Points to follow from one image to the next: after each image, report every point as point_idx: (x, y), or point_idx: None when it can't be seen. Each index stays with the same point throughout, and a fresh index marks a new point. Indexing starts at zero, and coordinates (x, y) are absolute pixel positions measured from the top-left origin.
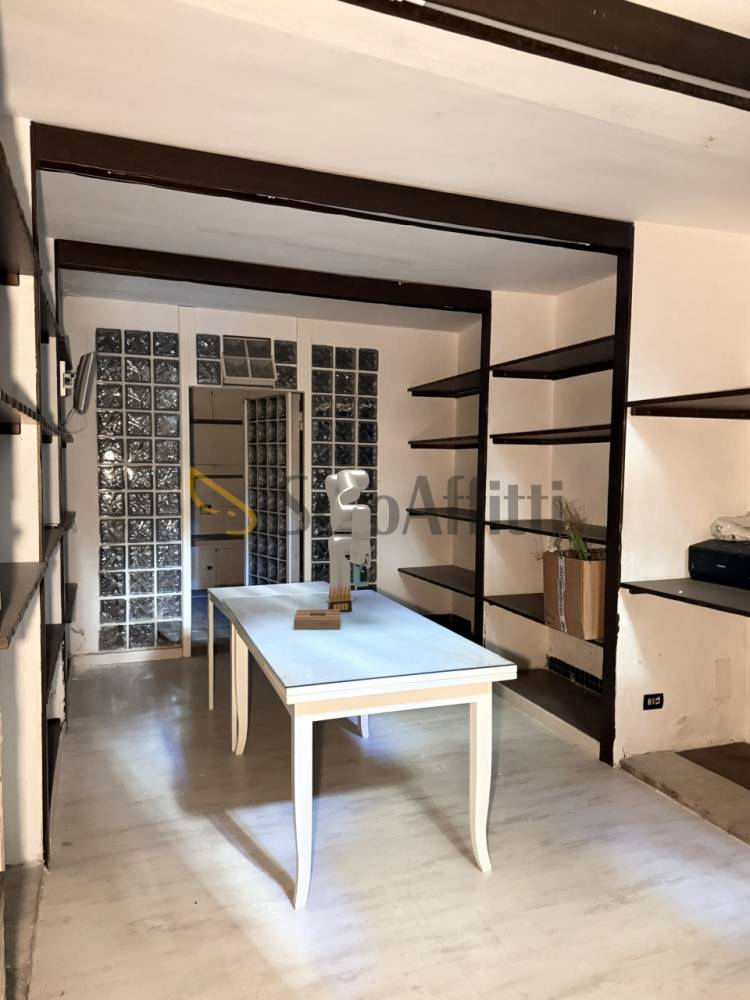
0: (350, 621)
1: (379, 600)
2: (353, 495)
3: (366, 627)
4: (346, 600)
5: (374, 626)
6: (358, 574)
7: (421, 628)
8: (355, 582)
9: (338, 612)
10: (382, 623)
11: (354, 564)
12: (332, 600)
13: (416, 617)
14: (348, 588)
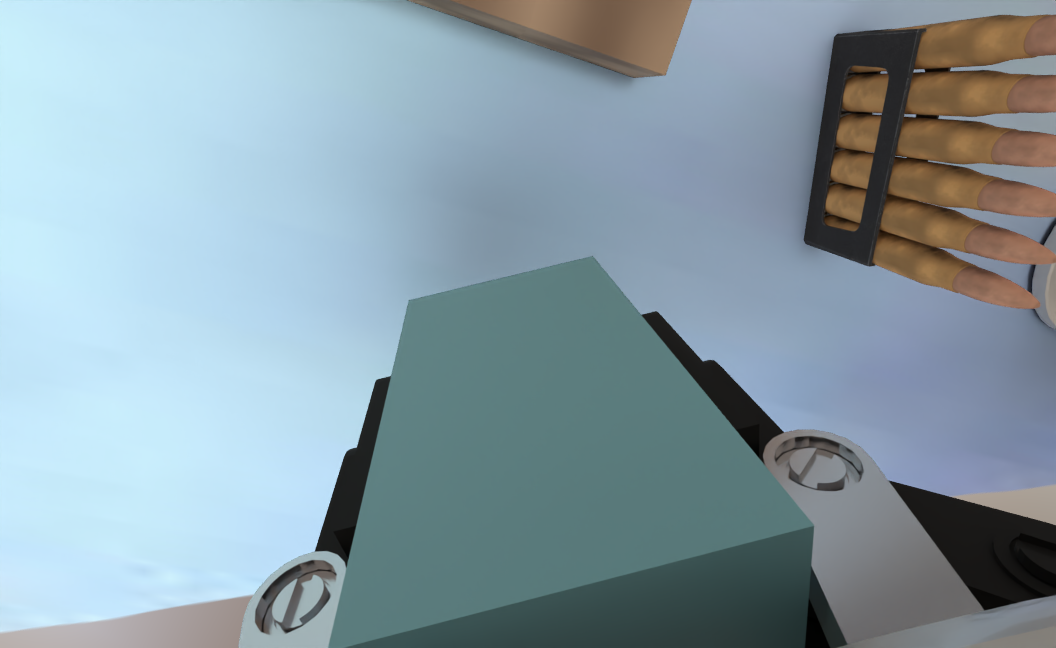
0: (514, 141)
1: (969, 471)
2: None
3: (284, 211)
4: (883, 219)
5: (311, 279)
6: (393, 431)
7: (222, 527)
8: (528, 293)
9: (530, 8)
10: (394, 353)
11: (920, 601)
12: (935, 65)
13: None
14: (994, 277)
